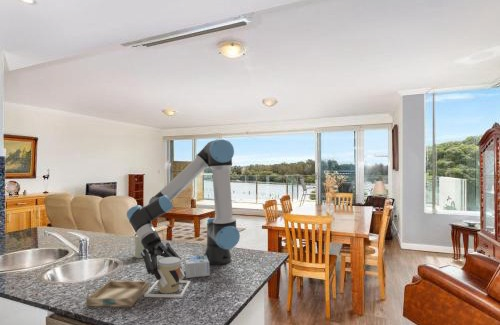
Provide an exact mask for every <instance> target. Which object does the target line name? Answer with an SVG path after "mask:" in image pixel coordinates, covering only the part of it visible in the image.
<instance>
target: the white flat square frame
mask: <svg viewBox="0 0 500 325" xmlns="http://www.w3.org/2000/svg"><path fill="white" fill-rule="evenodd" d="M179 284H186V285H185V286H184V288H183V289H182V291H181V293H180V294H173V293H161V294H160V293H151V292H152V291H153V290H154V289H155V287H156V286H157V285H159V280H157V279H156V281H155V282H154V283H153V284H152V286H151V287H150V288H148V289H147V290H146V291H145V292H144V294H143V296H144V298H176V299H178V298H179V299H180V298H183V297H184V295H185V293H186V292H187V289H188V288H189V286H190V284H191V280H180V279H179Z"/></svg>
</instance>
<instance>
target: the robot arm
mask: <svg viewBox="0 0 500 325" xmlns="http://www.w3.org/2000/svg"><path fill="white" fill-rule="evenodd" d="M234 154H235V148H234V146H233V144H232V143H231V141H229V140H228V139H226V138H215V139H214V140H211V141H209V142H208V143H207V144H205V146H203V148H202V149H201V150H200V151H199V152H198V153H196V155H195V158H194V159H192V161H191V162H190V163H189V164H188V165H187V166H185V167H184V169H183V170H181V171H180V172H179V173H178V174H177V175H176V176H175V177H173V179H172V180H171V181H170V182H168V183H167V184H166V185H165V186H164V187H163V188H161V190H160V191H158V192H157V193H156V194H155V195H153V196H152V197H151V198H150V199H149V201H148V204H146V205H145V206H142V205H139V204H138V205H134V206H131V207H130V208H129V209H128V210H127V212H126V217H127V218H128V222H129V224H130V225H131V227H132V229H133V230H134V233H135V235H137V236H138V238H139V239H140V241H141V243H142V245H143V247H144V248H145V249H144V250H143V251H142V252H141V255H142V257H143V258H142V259H143V262H144V265H145V269H146V271H147V274H149V275H152V276H154V277H155V279H156V281H157V280H159V282H160V284H161V285H162V287H163V288H164V287H165V286H166V285H167V284H168V283H167V281H166V279H165V277H164V276H163V274H162V272H161V270H158V257H159V256H160V257H162V258H165V257H178V258H180V259H181V257H180V255H178V254H177V253H176V251H175V250H174V249H173V248H172V246H171V244H170V242H166V243H163V242H162V240H161V237H160V235H159V233H158V232H157V230H156V228H155V227H154V224H152V222H154V220H156V219H158V218H160V217H161V216H163V215H165V214H166V213H168V212H169V211H171V210H172V209H173V208H174V205H173V203H172V201H173V200H174V199H175V198H176V197H177V196H179V194H180V193H182V191H184V190H185V188H187V187H188V186H189V185H190V184H191V183H192V182H193V181H194V180H195V179H196V178H197V177H198V176H199V175H201V173H203V172H204V171H205V170H206V169H211V172H212V174H211V175H212V186H213V199H214V200H213V201H214V214H215V215H214V216H215V217H210V218H208V219H207V221H206V228H207V229H206V248H205V251H204V255H203V256H207V258H208V261H209V265H215V266H216V265H225V264H228V263H231V261H232V254H231V250H230V249H234V248H235V246H237V245H238V243H239V242H240V238H241V234H240V232H239V229H238V228H237V219H236V218H235V217H234V216H233V201H232V200H233V199H232V187H231V186H232V185H231V175H230V173H231V172H230V169H231V167H233V158H234ZM148 253H149V254H150V256H149V254H148ZM181 260H182V259H181ZM184 278H186V273H184V271H183V268H182V266H181V267H180V279H179V280H181V281H183V279H184Z"/></svg>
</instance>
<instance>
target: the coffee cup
mask: <svg viewBox="0 0 500 325" xmlns="http://www.w3.org/2000/svg"><path fill="white" fill-rule="evenodd" d="M180 258H181V257H180ZM180 258H178V257H165V258H164V257H162V258H159V259H158V260H157V265H158V270H161V272H162V274H163V276H164V277H165V279H166V281H167V283H168V284H167V285H166V286H165V287H164V288H163V287H162V285H161V284H160V282H159V283H158V289H159V290H158V292H160V293H161V294H173V293H176V292H177V291H178V290H179V288H180V283H179V280H180V267H182V266H181V264H182V259H180Z"/></svg>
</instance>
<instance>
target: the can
mask: <svg viewBox="0 0 500 325" xmlns="http://www.w3.org/2000/svg"><path fill="white" fill-rule="evenodd" d="M134 239H135V245H134V246H135V247H134V258H137V259H143V257H142V255H141V252H142V251H143V250H144V249H145V248H144V247H143V245H142V243H141V241H140V239H139V238H138V236H137V234H135V236H134ZM148 254H149V253H148ZM149 256H150V254H149Z"/></svg>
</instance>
